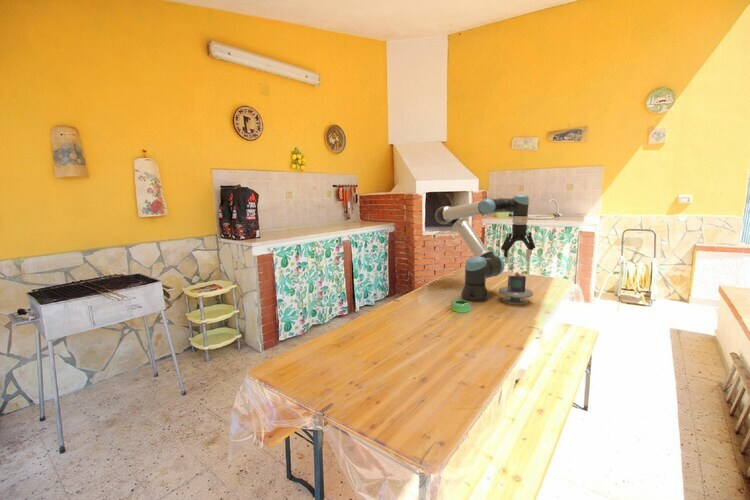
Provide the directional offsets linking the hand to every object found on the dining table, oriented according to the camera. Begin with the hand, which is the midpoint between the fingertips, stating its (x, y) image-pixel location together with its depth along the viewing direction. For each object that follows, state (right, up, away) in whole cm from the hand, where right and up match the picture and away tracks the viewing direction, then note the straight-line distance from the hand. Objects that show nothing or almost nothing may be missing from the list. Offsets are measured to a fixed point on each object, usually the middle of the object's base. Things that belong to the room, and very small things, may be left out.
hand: (517, 261), depth 198 cm
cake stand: (0, -22, +4) cm, 23 cm away
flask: (0, -17, +3) cm, 17 cm away
